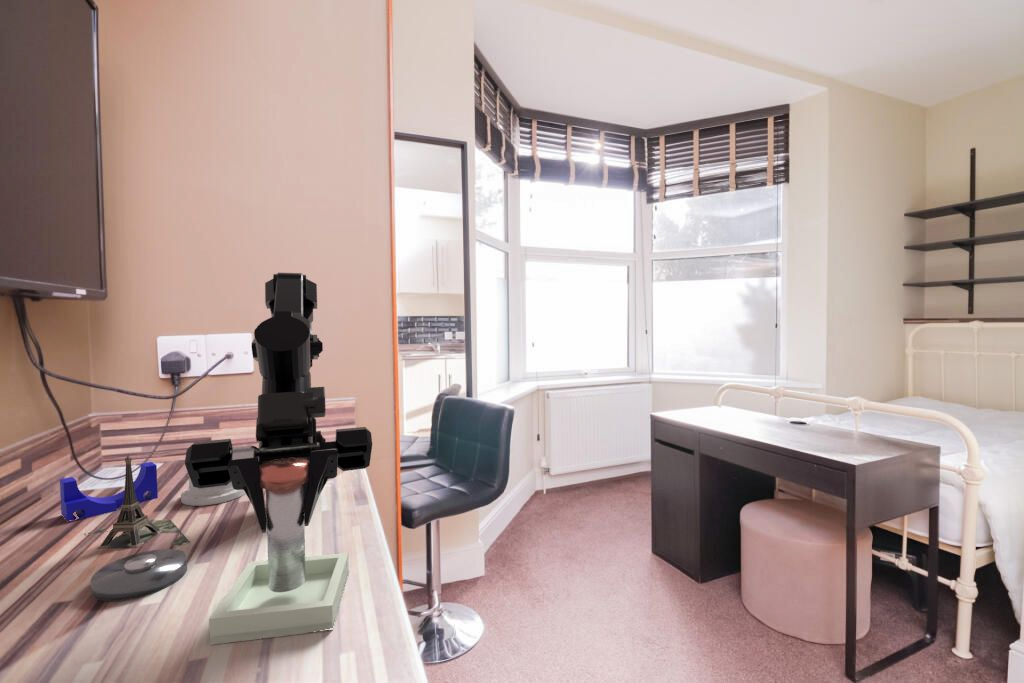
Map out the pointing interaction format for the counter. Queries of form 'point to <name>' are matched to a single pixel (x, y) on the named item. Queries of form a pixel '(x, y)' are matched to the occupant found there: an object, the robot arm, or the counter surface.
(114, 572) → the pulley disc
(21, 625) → the counter surface
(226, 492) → the mechanical component
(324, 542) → the counter surface
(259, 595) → the tray
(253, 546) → the counter surface
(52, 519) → the counter surface
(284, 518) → the pin
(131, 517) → the eiffel tower figurine
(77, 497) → the blue cradle bracket
